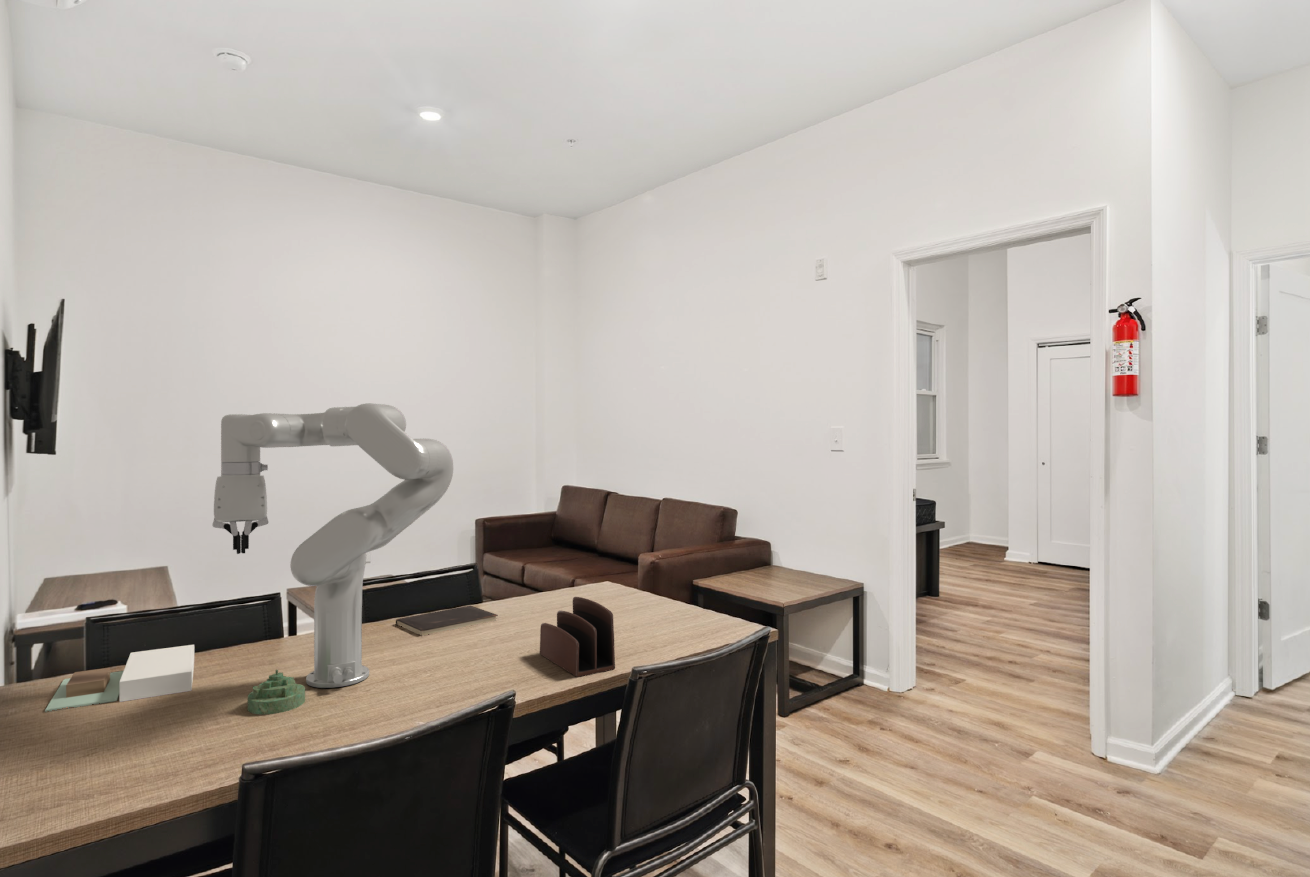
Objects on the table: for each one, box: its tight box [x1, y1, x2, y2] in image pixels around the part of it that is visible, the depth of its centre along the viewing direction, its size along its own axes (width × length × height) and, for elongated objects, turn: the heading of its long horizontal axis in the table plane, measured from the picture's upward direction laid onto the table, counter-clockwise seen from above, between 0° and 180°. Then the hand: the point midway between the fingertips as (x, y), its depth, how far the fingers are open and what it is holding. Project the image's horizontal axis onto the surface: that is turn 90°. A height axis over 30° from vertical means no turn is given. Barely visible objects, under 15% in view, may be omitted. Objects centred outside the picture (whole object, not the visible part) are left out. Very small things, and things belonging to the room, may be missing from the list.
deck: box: [119, 644, 195, 703], centre depth 153 cm, size 22×12×4 cm, turn 32°
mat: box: [44, 670, 124, 713], centre depth 147 cm, size 20×11×1 cm, turn 32°
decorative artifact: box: [247, 669, 306, 716], centre depth 140 cm, size 10×7×10 cm
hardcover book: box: [395, 605, 498, 637], centre depth 201 cm, size 16×23×2 cm
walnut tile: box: [66, 667, 111, 698], centre depth 147 cm, size 9×6×2 cm, turn 31°
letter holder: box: [539, 596, 616, 678], centre depth 167 cm, size 10×20×14 cm, turn 34°
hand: (240, 552), depth 157 cm, fingers closed
